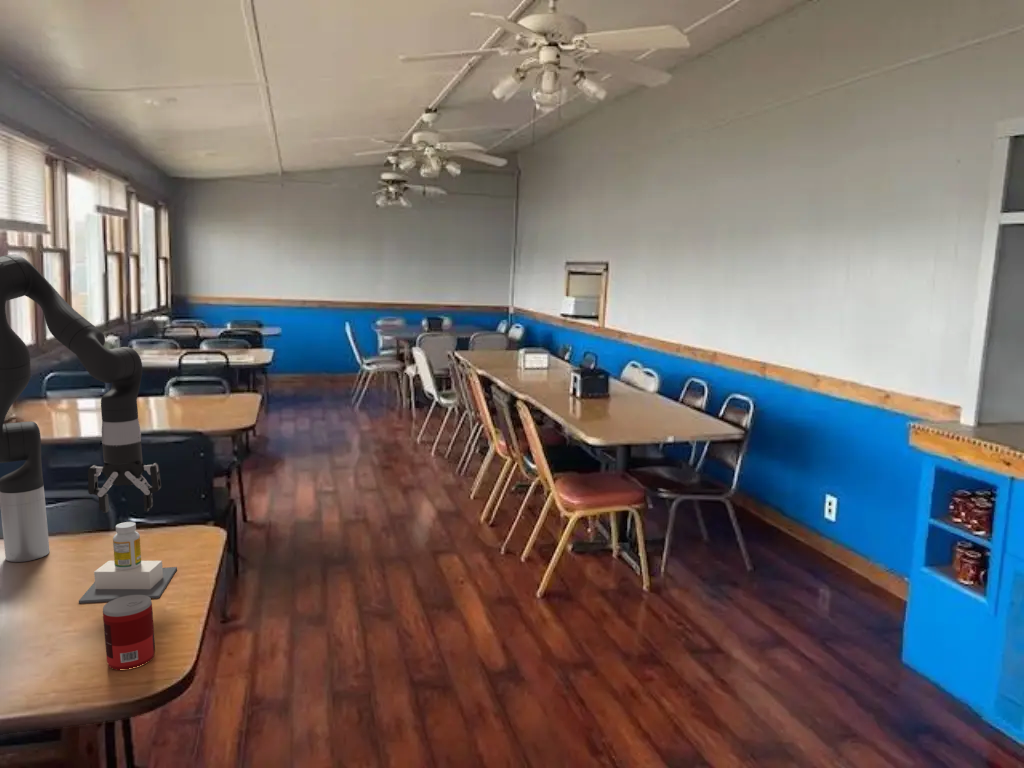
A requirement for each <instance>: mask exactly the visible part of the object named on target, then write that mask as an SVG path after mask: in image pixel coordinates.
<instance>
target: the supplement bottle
mask: <svg viewBox="0 0 1024 768" xmlns="http://www.w3.org/2000/svg"><path fill="white" fill-rule="evenodd" d="M136 530H137V524H136V522H134V521H126V522H125V521H124V522H121V523H117V524H116V525H115V534H114V535H113V537H112V544H113V545H112V546H113V559H114V560H113V561H114V562H115V568H116V569H118V570H130V569H134V568H137V567H138V566H140V565H141V561H142V553H141V552H142V549H141V535H140V533H139V532H138V531H136Z"/></svg>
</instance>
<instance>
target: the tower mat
mask: <svg viewBox="0 0 1024 768" xmlns="http://www.w3.org/2000/svg"><path fill="white" fill-rule="evenodd" d="M162 568H163V578H162V579H161V580H160V581H159V582H158V583H157V584H156V585H154V586H153V587H152V588H151V589H95V581H94V582H93V584H91V586H90V587H88V589H87V591H85V593H84V594H83V595H82V596H81V597H80V599H78V604H90V603H91V604H92V603H108V602H110V601H112V600H114V599H117V598H120V597H124V596H129V595H145V596H148V597H150V598H153V599H160V598H161V596H162V594H163V592H164V591H165V589H166V587H167V586H168V584H169V583H170V582H171V580H172V578H173V577H174V575H175V573H176V572H177V569H178V567H177V566H171V567H162Z"/></svg>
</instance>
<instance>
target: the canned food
mask: <svg viewBox="0 0 1024 768" xmlns="http://www.w3.org/2000/svg"><path fill="white" fill-rule="evenodd" d="M153 611H154V610H153V603H152V599H151V598H150V597H148V596H145V595H129V596H124V597H120V598H117V599H114V600H112V601H108V602H106V604H105V605H103V608H102V620H103V630H104V631H103V632H104V643H105V653H106V654H105V655H106V656H105V657H106V663H107V665H108V667H109V668H110V669H111V668H113V669H112V670H114V669H117V670H116V671H121V670H120V669H129V668H133V667H137V666H140V665H142V664H145V663H146V662H148V661H150V660H151V659H152V658H153V659H154V657H155V654H156V646H155V630H154V629H155V628H154V615H153V614H154V613H153ZM153 659H152V660H153ZM152 660H151V661H152ZM151 661H150V662H151ZM148 663H149V662H148ZM145 665H146V664H145Z"/></svg>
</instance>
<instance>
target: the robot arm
mask: <svg viewBox="0 0 1024 768" xmlns="http://www.w3.org/2000/svg"><path fill="white" fill-rule="evenodd" d="M24 296H25V297H27V298H29V299H30V300H32V301H34V303H36V304H37V305H38V306H39V307H40V309H41V310H42V313H43V316H44V320H45V325H46V326H47V328H48V331H49V332H50V334H51V336H53V337H54V338H55V339H56V340H57V341H58V342H59V343H60V344H62V345H63V346H64V347H65V348H67V349H68V350H69V351H71V352H72V353H73V354H75V356H76V357H77V359H78V360H79V362H80V364H82V366H83V368H85V369H86V371H87V372H88V374H89V375H90V376H91V377H92V378H94V379H95V380H97V381H99V382H102V383H105V384H111V388H110V390H108V392H105V394H103V395H102V396H101V398H100V410H101V411H100V413H101V441H102V453H103V466H98V465H97V464H93V465H92V466H90V467H89V468H88V470H87V484H88V485H87V487H88V491H87V492H88V494H89V495H94V496H97V497H98V506H99V507H98V509H99V511H102V514H103V513H104V514H105V513H106V514H107V513H108V512H109V511H110V505H109V504H110V502H109V501H110V500H109V493H107V492H108V491H109V490H110V488H111V487H112V486H113V485H115V486H116V487H118V486H119V487H121V486H132V485H134V486H135V487H136V488H137V489H140V491H141V492H142V493H143V511H144V512H149V511H150V509H152V507H153V506H154V501H153V494H154V493H157V492H158V491H159V490H160V489H161V488H162V481H161V473H160V467H159V464H158V463H157V462H154V463H153V464H147V465H146V464H144V462H143V451H142V440H141V438H142V433H141V426H140V422H139V410H138V395H139V391H140V387H141V382H142V376H143V362H142V359H141V356H140V354H139V353H138V352H137V350H135V349H134V348H132V347H130V346H129V347H128V346H122V347H115V348H114V347H113V348H106V347H105V346H104V345H105V343H106V337H105V334H104V333H103V332H102V331H101V330H100V329H99V328H98V327H97V326H95V325H94V324H93V323H91V322H90V321H89V320H87V318H85V317H84V316H82V315H81V314H80V313H78V312H77V311H76V310H75V309H74V308H73V307H72V306H71V305H70V304H69V303H68V302H67V301H66V300H65V299H64V298H63V297H62V296H61V294H59V291H57V290H56V289H55V287H53V285H51V283H50V282H49V281H48V280H47V279H46V278H45V276H44V275H42V274H41V272H40V271H39V270H38V269H37V268H36V267H35V266H34V265H33V264H32V263H31V262H30V261H29V260H27V259H26V258H25V257H23V256H21V255H18V254H6V255H1V256H0V464H4V463H13V462H21V461H25V462H24V463H23V465H21V466H20V467H19V468H17V469H15V470H13V471H11V472H9V473H7V474H5V475H3V476H1V477H0V517H1V526H2V535H3V545H4V548H3V549H4V555H5V561H8V562H12V563H21V562H22V563H23V562H29V561H34V560H35V561H36V560H38V559H41V558H43V557H46V556H47V555H48V554H49V553H50V550H51V549H50V541H49V530H48V529H49V528H48V520H47V518H48V516H47V508H46V507H47V506H46V498H45V488H44V478H43V477H44V476H43V475H44V474H43V466H42V440H41V439H42V438H41V432H40V428H39V425H38V424H37V423H36V422H35V421H21V422H20V421H19V422H18V421H17V422H9V423H5V419H6V417H7V415H8V412H9V410H10V409H11V408H12V406H13V404H14V403H15V402H16V401H17V399H18V398H19V397H20V395H21V394H22V393H23V392H24V390H25V389H26V387H28V384H29V382H30V379H31V376H32V375H31V374H32V373H31V355H30V350H29V348H28V346H27V345H26V343H25V342H24V341H23V339H22V338H21V337H20V336H19V335H18V334H17V333H16V332H15V331H14V330H13V328H12V327H11V326H10V325H9V322H8V319H7V314H6V312H7V311H6V304H7V301H10V300H11V301H12V300H15V299H18V298H21V297H24ZM145 471H146V472H147V474H148V475H149V476H150V479H151V484H149V482H148V481H147V479H146V478H145V477H144V476H143V473H144V472H145ZM101 473H102V474H103V475H104V476H105V477H106V478H107V480H106V481H105V483H104V484H103V485H102V487H99V478H98V477H99V476H100V475H101Z"/></svg>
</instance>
